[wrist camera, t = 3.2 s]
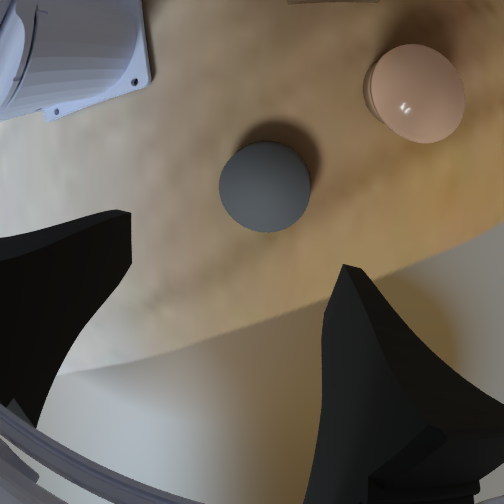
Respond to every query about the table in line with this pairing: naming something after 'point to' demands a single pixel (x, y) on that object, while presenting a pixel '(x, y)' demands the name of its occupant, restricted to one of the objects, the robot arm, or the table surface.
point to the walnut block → (317, 0)
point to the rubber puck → (265, 186)
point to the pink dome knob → (415, 93)
